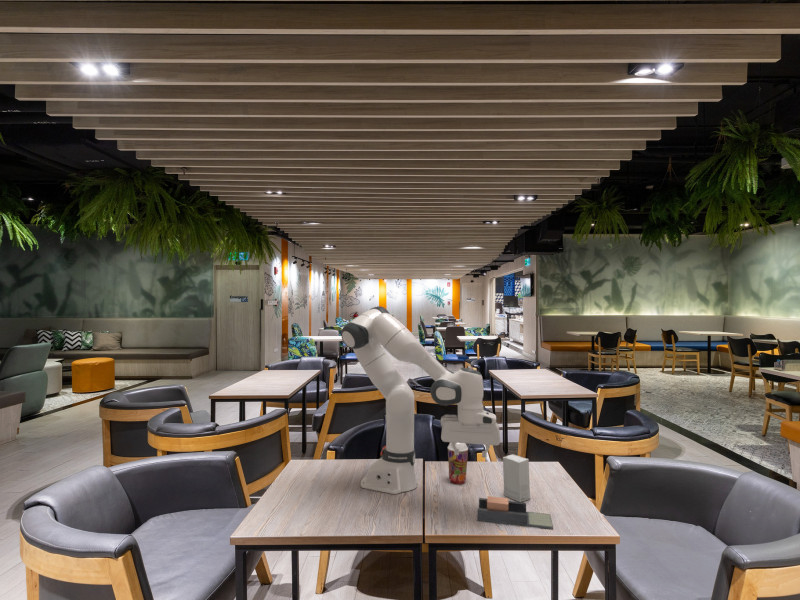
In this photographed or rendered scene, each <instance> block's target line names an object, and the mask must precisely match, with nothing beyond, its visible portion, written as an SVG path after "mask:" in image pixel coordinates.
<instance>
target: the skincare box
mask: <svg viewBox="0 0 800 600" xmlns="http://www.w3.org/2000/svg"><path fill="white" fill-rule="evenodd" d="M529 462H530V459H529V458H526V457H523V456H519V455H516V454H509V455H506V456H503V457H502V468H503V469H502V471H503V472H502V473H503V474H502V475H503V495H504V496H505V497H506V498H508V499H512V500H514V501H515V502H525V501H528V500H530V499H531V491H530V490H531V486H530V483H531V482H530V463H529Z"/></svg>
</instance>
